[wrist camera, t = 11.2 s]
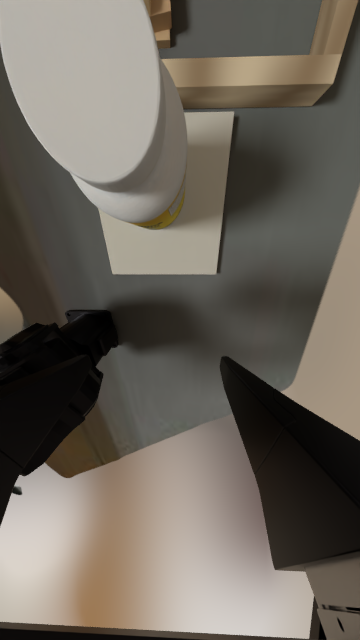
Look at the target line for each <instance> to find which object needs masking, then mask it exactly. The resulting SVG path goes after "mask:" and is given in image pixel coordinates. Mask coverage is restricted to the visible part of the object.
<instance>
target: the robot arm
mask: <svg viewBox="0 0 360 640" xmlns="http://www.w3.org/2000/svg"><path fill="white" fill-rule="evenodd" d="M106 314H108V315H106ZM65 315H66V317H67V320H68V323H67V324H65V325H64V326H63V327H61V328H60V329H59V328H58V325H57V324H56V323H52V324H50V325H48V324H47V325H42V324H39V323H35V324H33V325H31V326H29V327H28V328H26V329H24V330H22V331H20V332H19V333H17V334H15V335H14V336H12V337H11V338H9V339H8V340H6V341H5V342H3V343H2V344H0V525H1V523H2V520H3V517H4V514H5V511H6V508H7V505H8V502H9V499H10V496H11V493H12V490H13V487H14V485H15V482H16V480H17V478H18V476H19V475H22V476H26V475H28V474H30V473H31V472H33V471H34V470H35V469H37V468H38V467H39V466H41V465H42V464H43V463H44V462H45V461H46V460H47V459H48V458H49V456H50V455H51V454H52V453H53V451H54V450H55V449H56V448H57V447H58V445H59V444H60V443H61V442H62V441H63V440H64V438H65V437H66V436H67V435H68V434H69V433H70V432H71V431H72V430H73V429H75V428H76V427H77V426H78V425H80V424H81V423H82V422H83V421H84V420H85V416H86V415H87V414H88V413H89V412H90V411H91V410H92V408H93V407H94V405H95V403H96V401H97V399H98V394H99V390H100V386H101V382H102V379H103V373H102V372H101V371H99V370H98V369H97V368H96V367H95V366H96V365H97V364H98V362H99V361H100V360H101V358H102V357H103V356H106V355H107V353H108V352H109V350H110V349H111V348H116V347H117V346H118V341H117V339H118V337H117V333H116V329H115V325H114V324H113V321H112V317H111V313H110V312H109V311H73V310H69V311H67V312H65ZM114 344H115V345H114ZM220 371H221V376H222V381H223V385H224V389H225V392H226V395H227V398H228V401H229V404H230V407H231V409H232V412H233V415H234V418H235V421H236V424H237V426H238V429H239V432H240V435H241V438H242V441H243V444H244V446H245V449H246V452H247V455H248V458H249V460H250V464H251V466H252V469H253V472H254V474H255V478H256V481H257V484H258V487H259V492H260V496H261V502H262V507H263V512H264V517H265V523H266V529H267V534H268V540H269V544H270V550H271V556H272V561H273V565H274V568H275V570H284V571H305V572H306V574H307V577H308V580H309V582H310V585H311V588H312V590H313V593H314V602H313V611H312V620H311V628H310V638H309V639H297V638H280V637H279V638H278V637H262V636H243V635H226V634H208V633H190V632H172V631H171V632H170V631H154V630H136V629H118V628H100V627H81V626H64V625H45V624H26V623H9V622H0V640H360V441H359V440H358V439H356V438H354V437H353V436H351V435H349V434H348V433H346V432H344V431H343V430H341V429H339V428H338V427H336V426H334V425H333V424H331V423H329V422H328V421H325V420H324V419H323V418H321V417H319V416H318V415H316V414H314V413H313V412H311V411H309V410H307V409H306V408H304V407H303V406H301V405H299V404H298V403H296V402H294V401H293V400H291V399H290V398H288V397H287V396H285V395H284V394H282V393H281V392H279V391H278V390H276V389H274V388H273V387H272V386H270V385H269V384H267V383H266V382H264V381H263V380H261V379H260V378H258V377H257V376H256V375H254V374H253V373H251V372H250V371H248V370H247V369H245V368H244V367H242V366H241V365H239V364H238V363H237V362H235V361H234V360H232V359H231V358H229V357H227V356H222V357H221V362H220Z"/></svg>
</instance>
